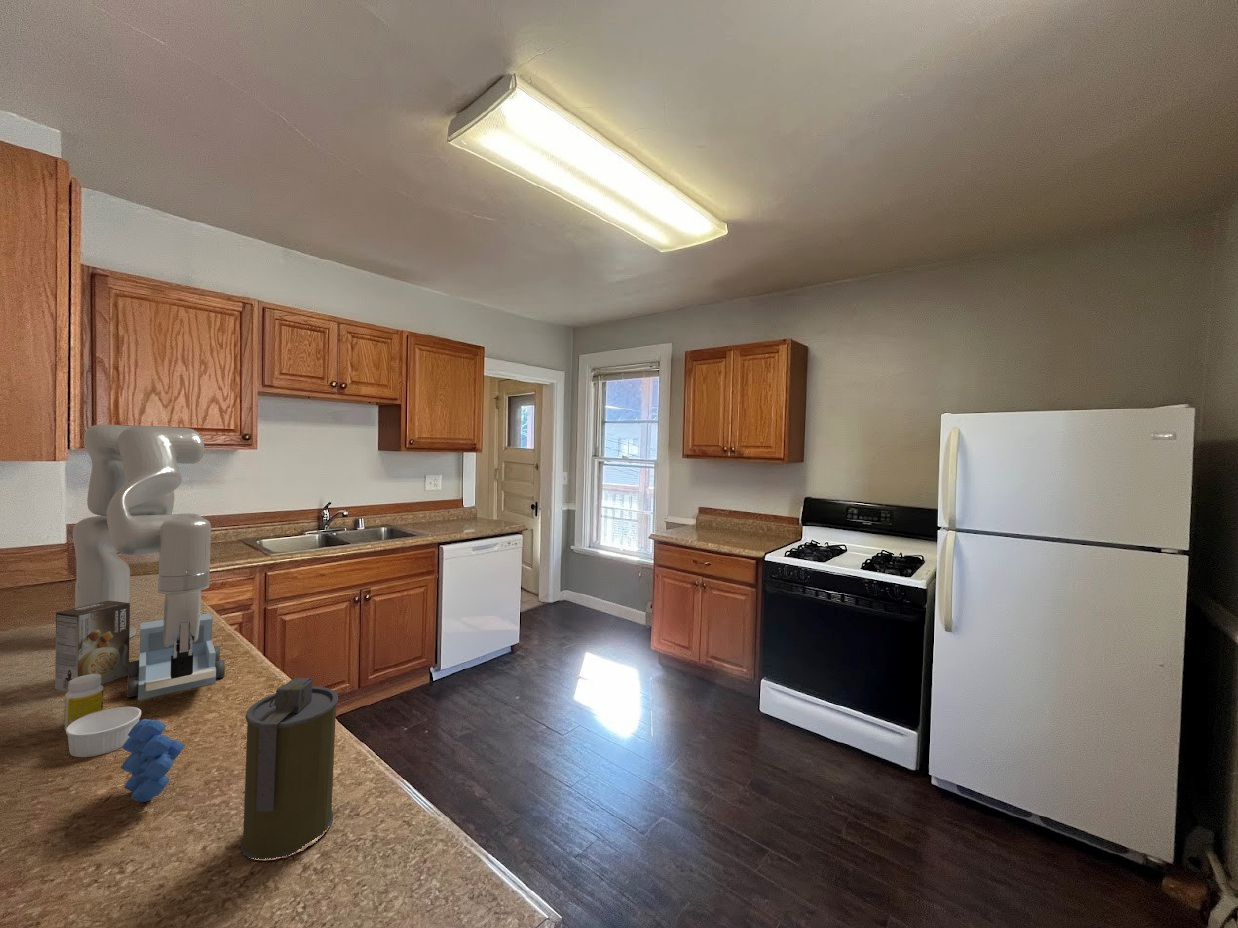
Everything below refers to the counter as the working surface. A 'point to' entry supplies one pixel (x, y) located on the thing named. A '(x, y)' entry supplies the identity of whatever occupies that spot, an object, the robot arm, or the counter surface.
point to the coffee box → (92, 642)
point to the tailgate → (179, 680)
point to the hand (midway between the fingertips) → (181, 675)
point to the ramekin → (101, 731)
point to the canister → (289, 769)
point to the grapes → (149, 759)
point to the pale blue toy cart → (158, 659)
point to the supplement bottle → (83, 697)
